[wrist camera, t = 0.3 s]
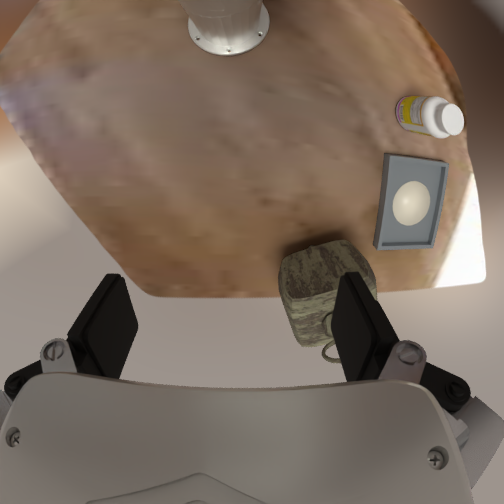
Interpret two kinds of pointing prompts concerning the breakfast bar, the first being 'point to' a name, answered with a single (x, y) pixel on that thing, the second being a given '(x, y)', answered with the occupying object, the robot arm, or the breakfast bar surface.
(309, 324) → the tabletop clock
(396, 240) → the tray
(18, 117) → the breakfast bar surface
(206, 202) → the breakfast bar surface
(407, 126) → the supplement bottle
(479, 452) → the robot arm
